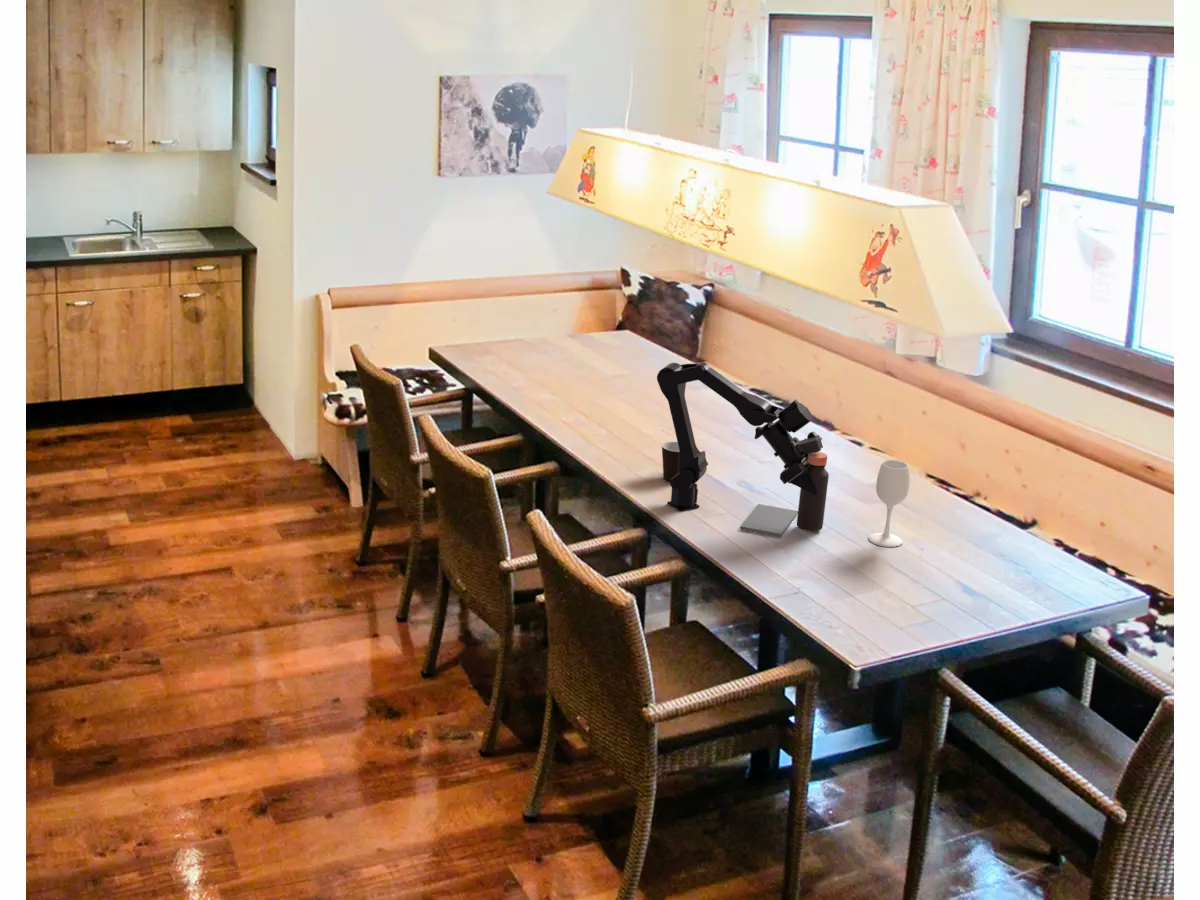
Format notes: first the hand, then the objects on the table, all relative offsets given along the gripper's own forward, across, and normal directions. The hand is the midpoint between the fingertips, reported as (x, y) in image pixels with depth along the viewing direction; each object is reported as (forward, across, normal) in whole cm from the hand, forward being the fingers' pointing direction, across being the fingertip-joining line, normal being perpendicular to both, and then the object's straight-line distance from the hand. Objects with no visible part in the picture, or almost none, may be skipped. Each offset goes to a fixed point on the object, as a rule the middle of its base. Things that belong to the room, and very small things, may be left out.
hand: (819, 489), depth 336 cm
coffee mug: (-23, +20, +40) cm, 50 cm away
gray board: (0, 0, +17) cm, 17 cm away
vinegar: (+7, 0, +9) cm, 11 cm away
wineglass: (+21, +2, -5) cm, 22 cm away
